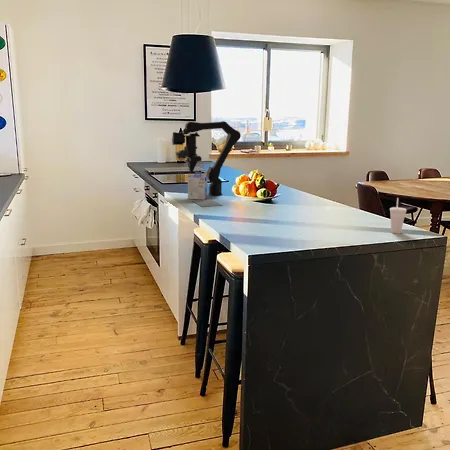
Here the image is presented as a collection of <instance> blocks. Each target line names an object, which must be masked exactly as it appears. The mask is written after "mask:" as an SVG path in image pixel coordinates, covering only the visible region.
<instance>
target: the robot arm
mask: <svg viewBox="0 0 450 450" xmlns="http://www.w3.org/2000/svg"><path fill="white" fill-rule="evenodd" d="M184 125H185V126H184V129H183V130H182V131H181V132H176V131H174V132H172V135H171V136H172V138H171V144H172V146H174V145H175V146H182V145H184V144H185V146H184V147H183V148H184V149H181V150H178V151H176V152H175V155H176V158H177V159H181V160H184V162H185V163H187V166H188V170H189V173H191V174H192V173H193V172H194V169H195V168H196V165H197V164H198V162H202V159H203V158H202V156H200V155H198V154H197V149H198V146H197V137H200V134H199V133H198V132H200V131H203V130H204V131H205V130H215V129H216V130H217V129H219V130H220V129H222V130H223V131H224V132H225V134H226V135H227V136H226V141H225V143H224V145H223V147H222V149H221V151H220V153H219V155H218V157H217V158H216V161H215V162H214V164H213V165H212V167H211V166H208V169H207V170H206V172H205V173H206V175H205V176H207V181H209V186H208V192H207V195H210V196H223V193H222V189H223V188H222V186H223V185H222V183H223V180H222V179H220V173H221V169H222V167H223V165H224V164H225V161H226V159H227V158H228V156H229V154H230V152H231V151H232V148H233V147H234V146H235V145H236V143H238V141H239V140H240V138H241V135H242V134H241V133H240V131H239V130H238V129H237V130H236V129H234V127H233V126H231V125H230V124H228V122H227V121H225V120H223V121H212V122H196V121H187V122H186V123H185V124H184Z"/></svg>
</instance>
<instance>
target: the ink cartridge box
mask: <svg viewBox="0 0 450 450" xmlns="http://www.w3.org/2000/svg"><path fill="white" fill-rule="evenodd" d="M187 200H208V179H207V176H206V175H205V176H202V172H201V171H195V172H194V175H190V176H187Z"/></svg>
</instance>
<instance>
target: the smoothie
mask: <svg viewBox="0 0 450 450" xmlns="http://www.w3.org/2000/svg"><path fill="white" fill-rule="evenodd" d="M389 211H390V213H389V214H390V215H389V216H390V233H392V234H396V235H397V234H401V233H402V230H403V225H404V220H405V218H406V213H407V208H404V207H399V197H396V206H392V207H390V208H389Z"/></svg>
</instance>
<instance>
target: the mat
mask: <svg viewBox="0 0 450 450" xmlns="http://www.w3.org/2000/svg"><path fill="white" fill-rule="evenodd" d="M191 202H192V203H194V204H196V205H198V206H199V207H202V208H207V207H218V206H219V207H222V206H224V205H223V204H221V203H220V202H217V201H215V200H213V199H205V200H203V199H197V200H192V201H191Z"/></svg>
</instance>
